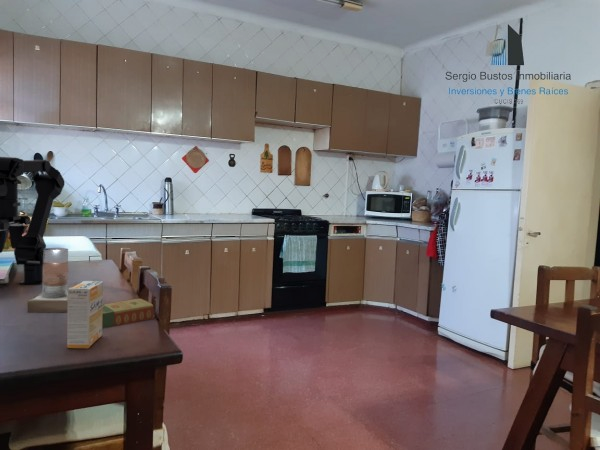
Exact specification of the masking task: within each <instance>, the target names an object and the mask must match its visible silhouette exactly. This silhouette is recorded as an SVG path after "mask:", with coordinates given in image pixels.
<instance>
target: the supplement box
mask: <svg viewBox="0 0 600 450" xmlns="http://www.w3.org/2000/svg"><path fill="white" fill-rule="evenodd" d="M67 292H68V312H67V325H66V326H67V330H66V332H67V333H66V334H67V335H66V336H67V337H66V338H67V339H66V341H67V343H66V344H67V345H66V348H68V349H90V347H91V346H92V345H93V344H94V343H96V341H97V340H99V339H100V338H101V337H102V336H103V328H102V312H103V304H104V302H103V301H104V300H103V297H104V281H102V280H99V281H98V280H83V281H81V282H78V283H77V284H74V285H73V286H70V287H67Z"/></svg>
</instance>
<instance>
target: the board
mask: <svg viewBox="0 0 600 450" xmlns="http://www.w3.org/2000/svg"><path fill="white" fill-rule="evenodd" d="M26 305H27V313H68V291H67V296H65V297H61V298H44V297H42V292H39V293H38V294H37V295H35V296H34V297H32V298H30V299H29V300H27V304H26Z"/></svg>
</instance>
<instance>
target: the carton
mask: <svg viewBox="0 0 600 450" xmlns="http://www.w3.org/2000/svg"><path fill="white" fill-rule="evenodd" d="M154 313H155V312H154V305H153V304H152V303H150V302H149V301H147V300H145V299H142V298H133V299H128V300H121V301H115V302H108V303H103V312H102V329H104V327H105V328H108V327H109V328H110V327H116V326H122V325H127V324H131V323H137V322H142V321H148V320H154Z"/></svg>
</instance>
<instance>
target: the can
mask: <svg viewBox="0 0 600 450" xmlns="http://www.w3.org/2000/svg"><path fill="white" fill-rule="evenodd" d="M68 274H69V248H65V247H46V248H45V249H44V251H43V281H42V283H41V284H42V291H41V293H42V297H44V298H61V297H65V296H67V292H68V283H69V282H68V278H69V275H68Z"/></svg>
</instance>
